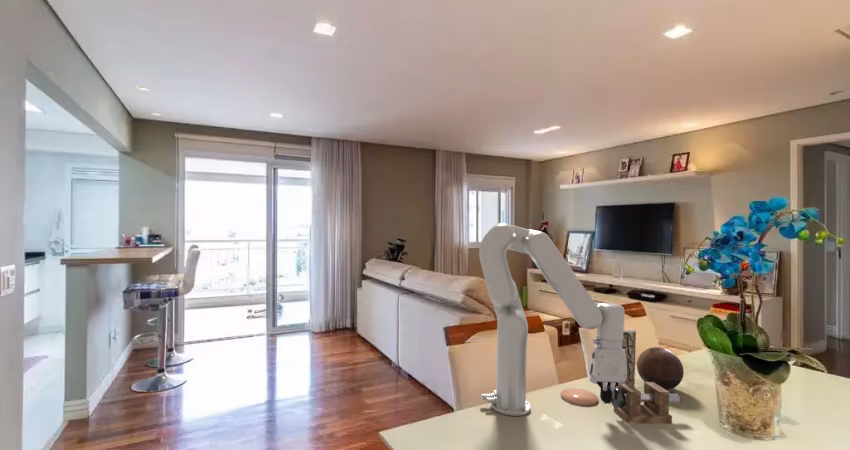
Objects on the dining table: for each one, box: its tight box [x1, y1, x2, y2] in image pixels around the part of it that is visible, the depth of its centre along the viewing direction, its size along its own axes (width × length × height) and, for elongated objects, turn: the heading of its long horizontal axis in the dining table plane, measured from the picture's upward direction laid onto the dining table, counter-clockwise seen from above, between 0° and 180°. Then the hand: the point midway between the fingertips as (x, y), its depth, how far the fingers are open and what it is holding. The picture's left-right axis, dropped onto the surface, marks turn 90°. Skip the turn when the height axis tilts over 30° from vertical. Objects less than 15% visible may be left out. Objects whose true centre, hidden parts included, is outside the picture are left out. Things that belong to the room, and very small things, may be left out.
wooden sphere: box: [636, 346, 684, 391], centre depth 152 cm, size 15×15×15 cm
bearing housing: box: [613, 381, 673, 424], centre depth 129 cm, size 14×8×9 cm, turn 94°
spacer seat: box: [560, 387, 599, 407], centre depth 142 cm, size 12×12×1 cm
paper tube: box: [615, 325, 637, 388], centre depth 140 cm, size 7×7×25 cm
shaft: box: [611, 388, 681, 408], centre depth 129 cm, size 20×6×6 cm, turn 94°
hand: (605, 401), depth 128 cm, fingers closed
